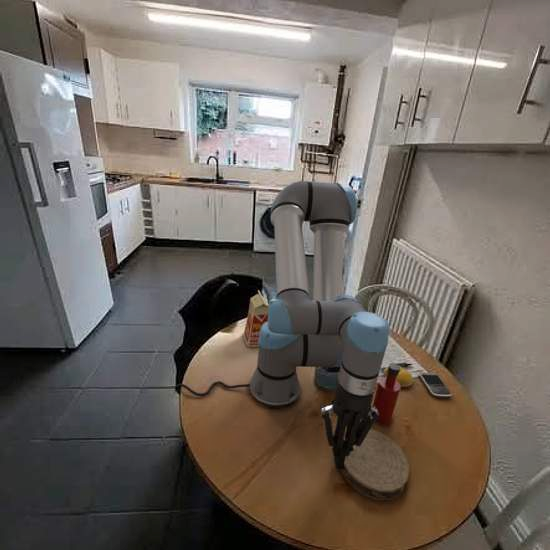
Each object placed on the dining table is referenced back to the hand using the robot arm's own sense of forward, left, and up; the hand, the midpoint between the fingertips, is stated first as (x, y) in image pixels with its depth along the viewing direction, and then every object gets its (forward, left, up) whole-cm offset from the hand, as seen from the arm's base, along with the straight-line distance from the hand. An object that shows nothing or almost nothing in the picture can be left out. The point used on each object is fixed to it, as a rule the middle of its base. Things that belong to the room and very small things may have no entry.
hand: (338, 463), depth 73 cm
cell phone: (+40, +28, -2) cm, 48 cm away
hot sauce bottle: (+17, +15, -2) cm, 23 cm away
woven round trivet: (+9, +1, -2) cm, 9 cm away
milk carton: (-18, +51, -2) cm, 54 cm away
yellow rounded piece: (+29, +31, -2) cm, 42 cm away
